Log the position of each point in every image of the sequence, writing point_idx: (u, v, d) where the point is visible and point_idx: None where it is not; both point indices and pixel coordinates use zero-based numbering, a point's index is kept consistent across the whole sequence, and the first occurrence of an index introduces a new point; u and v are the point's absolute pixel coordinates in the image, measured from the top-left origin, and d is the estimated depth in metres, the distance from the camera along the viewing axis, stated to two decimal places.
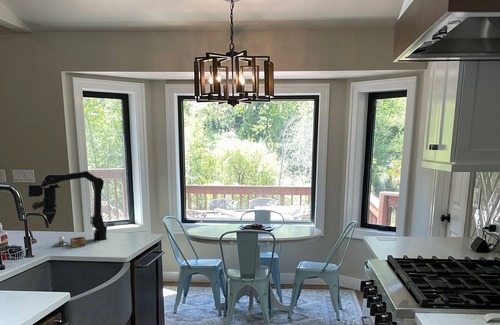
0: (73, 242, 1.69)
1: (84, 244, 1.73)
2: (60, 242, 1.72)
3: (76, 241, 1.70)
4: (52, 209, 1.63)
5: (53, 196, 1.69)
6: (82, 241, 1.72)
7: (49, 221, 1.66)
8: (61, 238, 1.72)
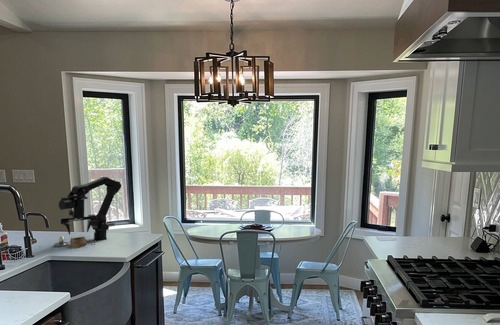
0: (73, 242, 1.69)
1: (84, 244, 1.73)
2: (60, 242, 1.72)
3: (76, 241, 1.70)
4: (60, 220, 1.67)
5: (74, 208, 1.71)
6: (82, 241, 1.72)
7: (68, 231, 1.71)
8: (61, 238, 1.72)
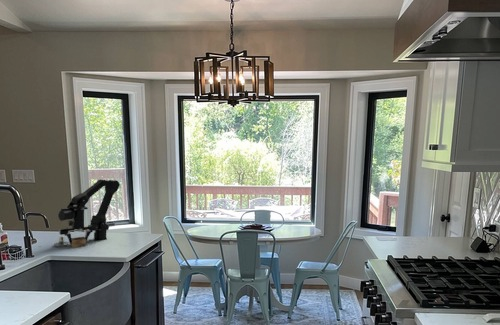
0: (73, 242, 1.69)
1: (84, 244, 1.73)
2: (60, 242, 1.72)
3: (76, 241, 1.70)
4: (60, 231, 1.67)
5: (74, 218, 1.71)
6: (82, 241, 1.72)
7: (69, 241, 1.71)
8: (61, 238, 1.72)
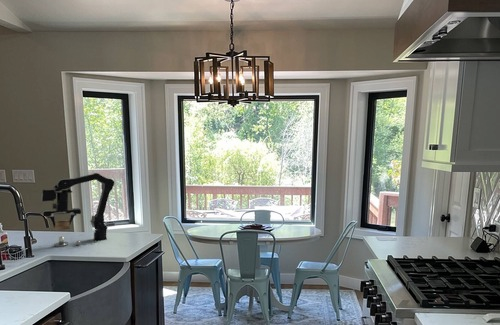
0: (56, 224, 1.68)
1: (68, 227, 1.72)
2: (60, 242, 1.72)
3: (59, 224, 1.69)
4: (43, 213, 1.66)
5: (58, 201, 1.70)
6: (66, 224, 1.71)
7: None
8: (61, 238, 1.72)
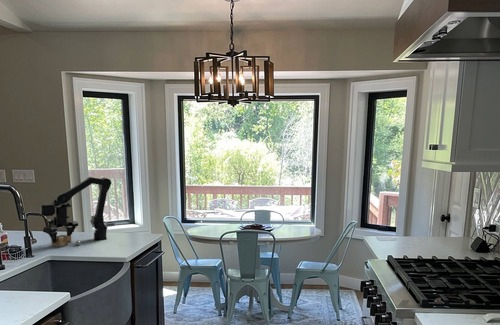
0: (61, 240, 1.70)
1: (70, 241, 1.75)
2: None
3: (63, 239, 1.71)
4: (48, 229, 1.64)
5: (60, 216, 1.70)
6: (68, 238, 1.74)
7: (52, 240, 1.68)
8: None
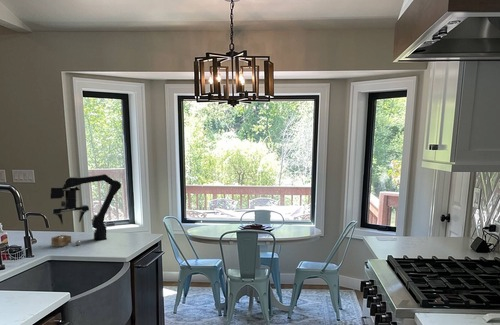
0: (61, 240, 1.70)
1: (70, 241, 1.75)
2: None
3: (63, 239, 1.71)
4: (52, 210, 1.71)
5: (67, 198, 1.76)
6: (68, 238, 1.74)
7: (60, 221, 1.75)
8: None
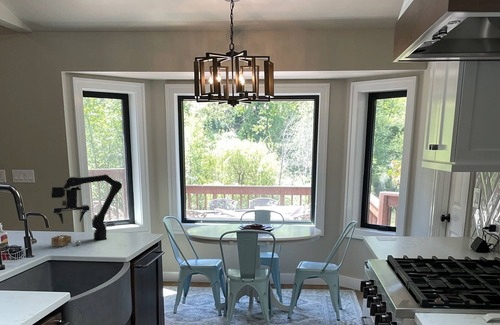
0: (61, 240, 1.70)
1: (70, 241, 1.75)
2: None
3: (63, 239, 1.71)
4: (53, 209, 1.72)
5: (67, 198, 1.76)
6: (68, 238, 1.74)
7: (61, 221, 1.76)
8: None
